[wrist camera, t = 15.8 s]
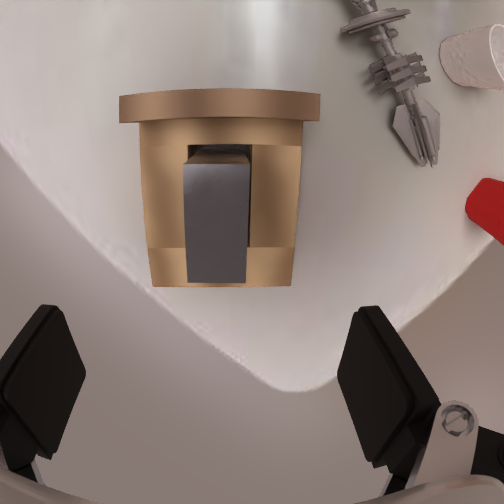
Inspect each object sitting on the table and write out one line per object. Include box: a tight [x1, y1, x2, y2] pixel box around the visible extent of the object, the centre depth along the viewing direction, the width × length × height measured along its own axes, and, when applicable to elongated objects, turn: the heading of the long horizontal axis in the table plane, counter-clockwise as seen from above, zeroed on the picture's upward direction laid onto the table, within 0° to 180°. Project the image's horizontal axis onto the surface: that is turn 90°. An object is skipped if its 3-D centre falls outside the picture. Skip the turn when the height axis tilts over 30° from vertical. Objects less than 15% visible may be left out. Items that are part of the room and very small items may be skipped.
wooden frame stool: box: [119, 89, 320, 287], centre depth 26 cm, size 14×18×10 cm
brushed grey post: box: [183, 147, 250, 283], centre depth 25 cm, size 4×8×13 cm, turn 178°
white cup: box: [439, 24, 504, 91], centre depth 20 cm, size 8×8×10 cm
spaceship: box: [340, 0, 440, 167], centre depth 20 cm, size 8×35×8 cm
